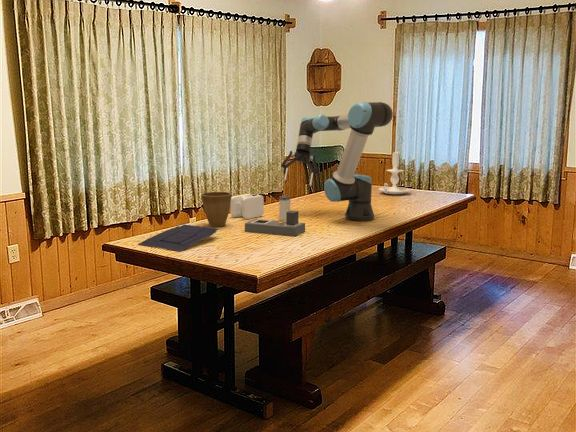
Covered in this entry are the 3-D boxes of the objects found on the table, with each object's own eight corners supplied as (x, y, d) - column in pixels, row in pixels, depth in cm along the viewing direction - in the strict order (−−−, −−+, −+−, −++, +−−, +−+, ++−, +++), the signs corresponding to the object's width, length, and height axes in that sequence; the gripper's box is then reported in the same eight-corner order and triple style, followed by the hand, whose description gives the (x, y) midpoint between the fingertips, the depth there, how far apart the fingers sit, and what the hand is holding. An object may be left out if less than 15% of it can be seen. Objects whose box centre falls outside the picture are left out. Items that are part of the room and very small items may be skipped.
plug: (290, 218, 321) (290, 196, 319) (286, 220, 316) (286, 197, 314) (283, 218, 323) (283, 195, 320) (279, 220, 318) (279, 197, 316)
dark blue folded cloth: (223, 235, 278) (222, 227, 277) (180, 257, 254) (179, 249, 253) (181, 229, 290) (181, 222, 289) (137, 250, 266) (136, 242, 265)
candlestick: (369, 195, 397) (370, 152, 392) (387, 190, 417) (388, 149, 411) (398, 198, 385) (400, 153, 380) (415, 193, 405) (417, 150, 399)
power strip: (305, 231, 292) (305, 210, 290) (295, 236, 281) (295, 214, 279) (255, 226, 302) (255, 206, 300) (244, 231, 291) (244, 210, 289)
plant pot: (235, 223, 310) (235, 191, 307) (226, 229, 296) (225, 196, 293) (208, 221, 313) (207, 190, 310) (197, 227, 299) (196, 195, 296)
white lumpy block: (243, 220, 317) (243, 198, 315) (229, 217, 324) (229, 196, 322) (264, 216, 328) (263, 195, 325) (250, 213, 335) (250, 192, 332)
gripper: (325, 152, 332) (319, 189, 326) (280, 143, 330) (273, 180, 324) (328, 147, 324) (322, 184, 318) (281, 138, 323) (274, 175, 317)
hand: (297, 182), depth 321 cm, fingers open, 13 cm apart
